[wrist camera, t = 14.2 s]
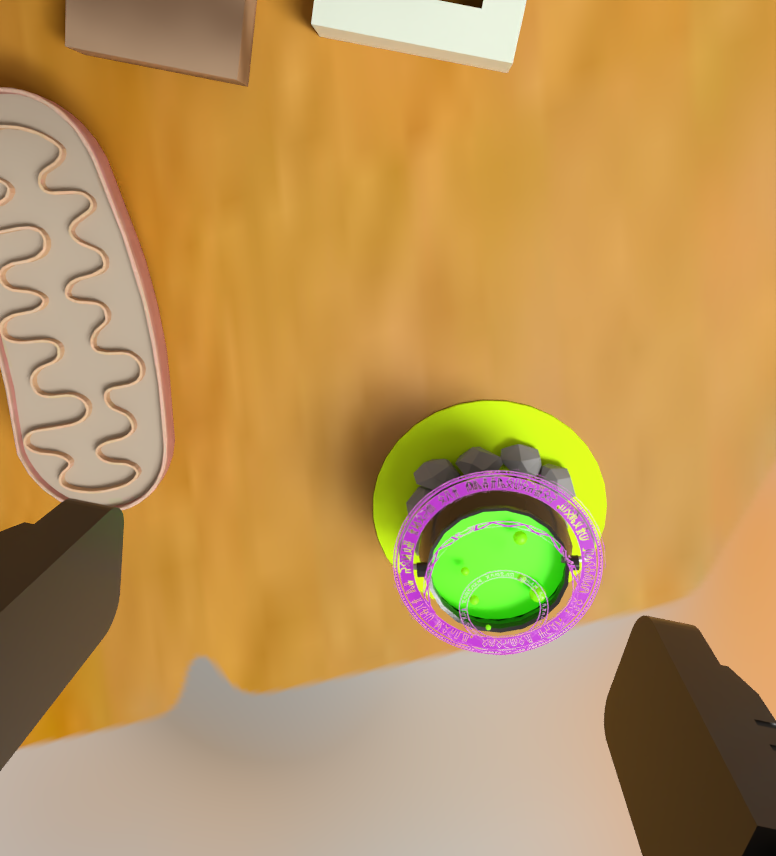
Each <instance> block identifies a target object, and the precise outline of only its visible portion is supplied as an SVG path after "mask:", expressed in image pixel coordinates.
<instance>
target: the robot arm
mask: <svg viewBox="0 0 776 856" xmlns="http://www.w3.org/2000/svg"><path fill="white" fill-rule="evenodd" d="M123 529H124V518H123V513H122V511H121V509H120V508H118V507H113V506H108V505H103V504H98V503H93V502H88V501H83V500H78V499H73V498H69V499H66V500H64V501H63V502H62V503H60V504H59V505H58V506H57V507H55V508H54V509H53V510H52V511H50V512H49V513H48V514H46V515H45V516H44V517H43V518H41V519H40V520H39V521H38V522H36V523H35V524H30V523H25V522H24V523H22V524H19V525H16V526H14V527H11V528H9V529H6V530H3V531H1V532H0V771H1V769H2V768H3V767H4V765H5V764H6V763H7V762H8V760H9V759H10V758H11V757H12V755H13V754H14V753H15V751H16V750H17V749H18V747H19V746H20V745H21V744H22V742H23V741H24V740H25V738H26V737H27V736H28V735H29V733H30V732H31V731H32V729H33V728H34V727H35V726H36V724H37V723H38V722H39V720H40V719H41V718H42V716H43V715H44V714H45V713H46V711H47V710H48V709H49V707H50V706H51V705H52V704H53V702H54V701H55V700H56V698H57V697H58V696H59V695H60V693H61V692H62V691H63V689H64V688H65V687H66V685H67V684H68V683H69V682H70V680H71V679H72V678H73V676H74V675H75V674H76V673H77V671H78V670H79V669H80V667H81V666H82V665H83V663H84V662H85V661H86V660H87V658H88V657H89V656H90V654H91V653H92V652H93V651H94V649H95V648H96V647H97V645H98V644H99V643H100V642H101V640H102V639H103V638H104V636H105V635H106V633H107V632H108V630H109V628H110V626H111V624H112V621H113V619H114V616H115V613H116V610H117V607H118V602H119V596H120V582H121V564H122V547H123ZM604 728H605V736H606V740H607V744H608V747H609V750H610V753H611V757H612V760H613V763H614V766H615V769H616V772H617V776H618V779H619V782H620V785H621V788H622V792H623V795H624V798H625V801H626V804H627V808H628V811H629V814H630V817H631V820H632V823H633V826H634V830H635V833H636V836H637V839H638V842H639V846H640V849H641V852H642V855H643V856H776V720H775V719H774V717H773V716H772V714H771V713H770V711H769V710H768V708H767V707H766V705H765V704H764V702H763V701H762V699H761V698H760V696H759V694H757V693H756V692H755V691H754V690H753V689H752V688H751V687H750V686H749V685H748V684H747V683H746V682H744V681H743V680H742V679H741V678H740V677H739V676H738V675H737V674H736V673H735V672H734V671H732V670H731V669H730V668H729V667H727V666H723V665H720V663H719V662H718V660H717V658H716V657H715V655H714V654H713V652H712V650H711V648H710V647H709V645H708V644H707V642H706V640H705V639H704V637H703V635H702V634H701V632H700V631H699V629H697V628H696V627H695V626H693V625H689V624H684V623H680V622H675V621H670V620H665V619H660V618H655V617H650V616H642V617H640V618H639V619H638V620H637V621H636V623H635V624H634V627H633V629H632V631H631V634H630V637H629V639H628V642H627V645H626V647H625V650H624V653H623V656H622V658H621V661H620V664H619V666H618V669H617V672H616V674H615V677H614V680H613V683H612V685H611V688H610V691H609V693H608V696H607V700H606V706H605V713H604Z"/></svg>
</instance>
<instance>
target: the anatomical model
mask: <svg viewBox="0 0 776 856" xmlns="http://www.w3.org/2000/svg"><path fill="white" fill-rule="evenodd" d="M0 368H1V372H2V376H3V381H4V385H5V389H6V394H7V400H8V406H9V412H10V417H11V423H12V429H13V435H14V440H15V446H16V450H17V455H18V456H19V458H20V460H21V462H22V464H23V465H24V467H25V469H26V471H27V472H28V474H29V475H30V476H31V477H32V478H33V480H34V481H35V482H36V483H37V484H38V485H39V486H40V487H41V488H42V489H43V490H44V491H45V492H47V493H48V494H50V495H51V496H53V497H54V498H56V499H57V500H59V501H60V502H63V501H64V500H66V499H69V498H73V499H78V500H83V501H88V502H93V503H98V504H103V505H108V506H113V507H118V508H120V509H121V510H125V509H128V508H131V507H133V506H135V505H137V504H139V503H140V502H141V501H143V500H144V499H145V498H147V497H148V496H149V495H150V494H151V493H152V492H153V491H154V490H155V489H156V487H157V486H158V485H159V483H160V482H161V480H162V479H163V478H164V476H165V474H166V472H167V470H168V468H169V466H170V462H171V459H172V456H173V450H174V442H175V436H174V425H173V413H172V400H171V388H170V376H169V366H168V357H167V348H166V343H165V338H164V333H163V328H162V323H161V318H160V313H159V308H158V304H157V300H156V296H155V293H154V289H153V285H152V281H151V278H150V274H149V270H148V267H147V263H146V259H145V257H144V254H143V251H142V249H141V246H140V243H139V240H138V238H137V235H136V232H135V230H134V227H133V224H132V222H131V219H130V217H129V214H128V211H127V209H126V206H125V204H124V201H123V198H122V196H121V193H120V190H119V188H118V185H117V183H116V180H115V177H114V175H113V172H112V169H111V167H110V164H109V162H108V159H107V157H106V155H105V154H104V152H103V150H102V149H101V147H100V145H99V144H98V142H97V140H96V139H95V138H94V137H93V135H92V134H91V133H90V132H89V131H88V129H87V128H86V127H85V126H84V125H83V124H82V123H81V122H80V121H79V120H78V119H77V118H76V117H75V116H73V115H72V114H71V113H70V112H68V111H67V110H65V109H64V108H62V107H61V106H59V105H58V104H56V103H55V102H53V101H50V100H48V99H46V98H44V97H41V96H39V95H37V94H34V93H31V92H28V91H25V90H20V89H15V88H5V87H0Z"/></svg>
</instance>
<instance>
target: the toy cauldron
mask: <svg viewBox="0 0 776 856" xmlns="http://www.w3.org/2000/svg"><path fill="white" fill-rule="evenodd" d="M606 508H607V503H606V493H605V484H604V481H603V478H602V475H601V472H600V469H599V466H598V463H597V462H596V460H595V458H594V457H593V455H592V453H591V452H590V450H589V448H588V447H587V445H586V444H585V443H584V442H583V441H582V440H581V439H580V438H579V436H578V435H577V434H576V433H575V432H574V431H573V430H572V429H571V428H570V427H568V426H567V425H565V424H564V423H562V422H561V421H559V420H558V419H557V418H555V417H554V416H552V415H550V414H548V413H546V412H543V411H541V410H539V409H536V408H534V407H532V406H529V405H524V404H519V403H515V402H510V401H497V400H480V401H474V402H468V403H462V404H457V405H454V406H452V407H449V408H446V409H443V410H441V411H438V412H435V413H434V414H432V415H430V416H429V417H427V418H425V419H424V420H422V421H420V422H419V423H417V424H416V425H415V426H413V427H412V428H411V429H410V430H409V431H408V432H407V433H406V434H405V435H403V436H402V437H401V438H400V439H399V440H398V442H397V443H396V444H395V446H394V447H393V448H392V450H391V451H390V453H389V454H388V455H387V457H386V459H385V461H384V463H383V465H382V468H381V470H380V472H379V474H378V476H377V481H376V486H375V490H374V495H373V519H374V523H375V528H376V532H377V537H378V540H379V542H380V544H381V546H382V548H383V551H384V553H385V555H386V557H387V558H388V560H389V561H390V562H391V564H392V565H393V569H394V576H395V572H397V574H396V575H397V577H395V581H396V578H398V580H397V581H398V582H399V583H397V581H396V585H397V584H399V586H398V585H397V588H398V587H400V589H399V588H398V591H399V590H401V593H402V595H403V596H404V597H403V598H404V599H405V600H403V598H402V596H401V594H400V591H399V594H400V596H401V598H402V600H403V602H404V601H406V603H407V604H408V605H406V603H405V602H404V604H405V605H406V607H407V606H409V608H410V610H412V612H411V611H410V610H409V609H408V607H407V609H408V610H409V611H410V613H411V614H412V613H414V615H416V617H417V618H418V619H416V618H415V616H414V615H413V614H412V616H413V617H414V618H415V619H416V620H417V621H418V620H420V622H422V624H424V625H425V626H427V628H429V629H430V630H432V629H431V628H430V627H429V626H428V625H426V624H425V623H424V622H423V621H422V620H421V619H420V618H419V617H418V615H417V614H416V613H415V612H414V610H413V609H412V608H411V606H410V604H409V603H408V601H407V599H406V597H405V595H404V593H403V590H402V587H401V584H400V580H399V575H398V573H399V574H400V576H401V581H402V585H403V588H404V590H405V593H406V592H407V591H408V590H409V589H410V588H411V587H412V586H413V587H414V589H415V590H416V591H415V590H414V589H410V590H414V591H415V592H413V591H412V592H411V591H410V590H409V591H410V592H411V593H410V592H409V591H408V592H409V593H408V592H407V593H408V594H406V595H407V597H408V599H409V601H410V603H411V602H412V601H414V600H417V599H419V600H422V601H419V600H417V601H418V602H417V604H416V603H414V602H415V601H414V602H413V603H411V604H412V606H413V607H414V609H415V608H417V607H418V608H417V610H418V609H420V608H422V607H426V608H422V609H420V610H418V611H417V610H416V609H415V610H416V612H417V613H418V614H419V615H420V613H421V612H423V609H428V610H427V611H428V613H427V615H428V614H430V615H428V616H426V614H423V613H424V612H423V613H421V614H422V615H420V616H421V617H422V618H423V620H425V619H427V618H428V617H430V616H431V617H430V618H428V619H427V620H425V621H426V622H427V623H428V624H429V625H430V626H431V627H433V628H434V627H435V625H436V624H438V626H436V627H435V628H434V629H435V630H437V631H438V632H440V633H441V634H443V635H445V636H446V637H448V638H450V639H452V640H453V641H455V642H456V643H455V642H453V641H451V640H449V639H447V638H445V637H443V636H441V635H440V634H438V633H437V632H435V631H434V630H432V632H435V633H434V634H433V633H432V632H430V631H429V630H428V629H427V628H425V627H424V626H423V625H422V624H421V623H420V622H419V621H418V622H419V623H420V624H421V625H422V626H423V627H424V628H425V629H426V630H428V631H429V632H430V633H432V634H433V635H435V634H437V636H436V635H435V636H436V637H438V635H439V636H440V637H443V639H446V641H445V640H443V639H441V638H439V637H438V638H439V639H441V640H443V641H445V642H447V640H448V641H449V642H450V641H451V642H452V643H455V645H453V644H451V643H449V642H447V643H449V644H451V645H453V646H456V644H458V643H461V644H466V645H468V646H470V647H467V646H464V645H461V644H458V646H459V645H461V647H462V646H464V648H465V647H466V648H468V649H469V648H471V649H470V650H469V651H472V649H474V650H473V652H476V651H477V652H478V653H483V652H484V651H487V652H489V651H491V652H492V651H493V652H494V653H485V654H496V655H506V654H515V653H519V652H524V651H528V650H531V649H535V648H537V647H540V646H542V645H540V646H538V645H539V644H542V643H545V642H547V641H549V640H551V639H552V638H554V637H555V636H557V635H558V634H560V633H563V631H566V630H565V629H568V627H570V628H569V629H571V628H572V627H573V626H574V625H575V624H576V623H577V622H578V621H579V620H580V619H581V618H582V617H583V616H584V614H585V613H586V612H587V610H588V609H589V607H590V605H591V604H592V602H593V600H594V598H595V596H596V594H595V596H594V598H593V600H592V602H591V601H590V600H591V599H592V596H593V593H595V592H594V591H595V590H596V589H595V588H596V587H597V586H596V585H597V584H598V583H597V582H598V581H599V580H598V578H600V581H599V585H600V582H601V577H602V570H603V556H602V548H601V544H600V537H601V534H602V531H603V529H604V524H605V516H606ZM601 538H602V537H601ZM602 541H603V540H602ZM598 544H600V546H598ZM603 546H604V543H603ZM599 547H600V548H601V549H599ZM596 548H597V551H598V574H597V579H596V583H595V587H594V590H593V592H592V595H591V597H590V599H589V601H588V602H587V604H586V606H585V607H584V609H583V610H582V611H581V613H580V614H579V615H578V616H577V618H578V617H580V615H582V612H584V610H586V609H585V608H586V607H588V606H587V605H588V604H589V602H591V604H590V605H589V607H588V609H587V610H586V611H585V613H584V614H583V615H582V616H581V618H580V619H579V620H578V619H577V618H576V619H575V620H578V621H577V622H576V623H575V624H574V625H573V626H572V627H571V626H570V625H571V624H573V622H575V620H574V621H573V622H572V623H570V624H569V625H568V626H567V627H566V628H565V629H563V628H564V626H566V625H567V624H568V623H569V622H570V621H571V620H572V619H573V618H574V617H575V616H576V615H577V614H578V612H579V611H580V610H581V608H582V607H583V605H584V604H585V602H586V600H587V599H588V597H589V594H590V592H591V589H592V586H593V583H594V579H595V574H596V552H595V549H596ZM599 550H601V555H600V552H599ZM604 551H605V547H604ZM593 553H594V554H593ZM600 556H602V568H600V566H601V565H600V563H601V562H600V559H601V558H600ZM591 557H593V558H594V559H593V558H592V559H590V558H591ZM588 561H592V562H594V563H595V566H591V565H594V563H591V564H589V563H590V562H588ZM587 564H589V565H588V566H586V565H587ZM584 566H586V567H584ZM605 566H606V562H605ZM588 567H590V569H595V571H594V570H590V572H589V573H587V572H584V571H588V570H585V568H588ZM395 569H396V570H397V571H395ZM588 569H589V568H588ZM600 569H601V571H600ZM580 571H581V577H580V576H579V577H580V581H579V579H578V580H577V579H576V577H575V576H576V575H577V577H578V573H579V572H580ZM591 571H594V572H591ZM599 572H601V576H600V577H599V575H600V574H599ZM584 573H586V574H584ZM588 574H591V575H593V576H594V579H593V580H585V579H590V578H593V577H590V576H591V575H589V576H585V575H588ZM584 576H585V577H588V578H585V577H584ZM573 578H574V579H575V580H576V582H577V586H576V588H575V591H574V586H573V593H572V599H571V598H570V599H571V601H570V600H569V601H570V603H569V604H568V605H567V604H566V605H567V606H566V608H565V609H564V610H563V611H562V612H561V613H560V614H559V615H558V616H557V617H556V618H555V619H553V618H554V617H553V618H552V619H553V620H552V621H550V620H551V619H550V620H549V621H550V622H549V623H547V622H548V621H547V622H546V623H547V624H546V625H544V624H545V621H546V619H547V616H548V613H549V612H551V611H552V610H553V609H554V608H555V607H556V606H557V605H558V604H559V602H560V600H561V598H562V596H563V594H564V592H565V590H566V588H567V586H568V583H569V582H570V581H571V580H572V583H573ZM582 580H584V581H591V582H586V583H587V584H589V585H590V586H583V587H586V588H585V589H587V588H588V589H589V592H588V591H586V590H585V589H583V588H581V586H582V585H587V584H582V585H581V583H585V582H584V581H582ZM408 582H409V584H410V585H411V586H409V585H407V584H408ZM404 583H406V584H405V585H406V586H404ZM602 584H603V583H602ZM599 585H598V588H599ZM394 587H395V586H394ZM413 587H412V588H413ZM598 588H597V591H598ZM588 589H587V590H588ZM395 590H396V589H395ZM419 591H421V592H422V593H424V599H425V601H426V602H425V601H424V599H423V598H422V596H421V594H420V592H419ZM579 591H584V592H585V591H586V592H588V593H582V592H579ZM597 591H596V593H597ZM425 594H426V595H427V596H428V600H429V602H428V601H427V600H426V598H425ZM420 598H421V599H420ZM430 598H433V599H435V600H436V601H437V603H438V604H439V606H440V608H441V609H442V610H444V611H445V612H446V613H447V614H448V615H450V616H451V617H452V618H453V619H454V620H456V621H457V622H459V623H461V624H463V625H464V626H465V625H466V626H468V627H469V628H470V627H471V628H470V629H471V630H472V628H474V629H476V630H477V631H478V630H481V631H490V632H500V633H501V632H506V631H512V630H518V629H523V628H525V627H527V626H529V625H531V624H533V623H535V622H536V623H537V621H539V620H540V621H541V619H544V617H545V616H546V615H547V616H546V619H545V621H544V624H543V625H544V626H543V625H541V624H540V625H541V626H542V627H541V628H539V629H537V630H533V629H532V628H533V627H534V626H535V624H536V623H535V624H534V626H533V627H532V628H531V629H532V630H533V631H532V632H529V633H527V632H528V631H527V632H526V633H525V632H523V633H524V634H522V633H520V634H522V635H519V636H514V637H506V638H492V637H490V638H489V636H487V637H482V636H480V635H479V636H477V635H476V634H475V635H473V634H472V633H471V634H469V633H470V632H469V630H468V629H467V628H466V626H465V628H466V629H467V630H468V632H469V633H466V632H463V631H461V630H458V629H456V628H454V627H453V626H451V625H449V624H448V623H446V622H445V621H443V620H442V619H441V618H439V617H438V616H437V615H436V614H435V611H434V610H433V608H432V607H431V603H430ZM575 598H576V600H577V601H576V600H575ZM578 600H582V602H581V601H578ZM569 601H568V602H569ZM574 601H576V602H574ZM422 603H423V605H422V606H421V604H422ZM426 603H427V604H428V605H429V606H428V605H427V604H426ZM577 603H578V604H581V605H577ZM582 603H583V604H582ZM401 604H402V603H401ZM419 606H420V607H419ZM574 606H575V607H574ZM570 607H572V608H570ZM576 607H578V608H580V609H579V611H577V610H578V608H576ZM566 609H567V610H568V611H570V612H569V613H567V612H568V611H567V612H565V611H566ZM575 609H577V610H575ZM427 611H425V612H427ZM431 613H432V614H431ZM570 614H571V615H570ZM573 614H575V616H572V615H573ZM433 615H434V616H433ZM569 615H570V616H569ZM425 616H426V617H425ZM410 617H411V616H410ZM424 617H425V618H424ZM432 617H433V618H432ZM411 618H412V617H411ZM431 618H432V619H431ZM559 618H560V619H561V620H562V621H561V622H560V620H559ZM430 619H431V620H430ZM429 620H430V621H429ZM428 621H429V622H428ZM555 621H556V622H559V623H560V624H559V623H558V624H559V625H560V626H559V625H558V624H557V623H555ZM541 622H542V621H541ZM563 622H564V625H563ZM552 623H553V625H552ZM439 624H441V628H440V625H439ZM443 624H444V625H443ZM446 625H447V627H450V628H448V629H447V628H446ZM547 625H548V627H549V628H550V630H548V629H549V628H548V627H547ZM551 625H552V626H553V627H554V628H555V629H557V628H558V630H555V629H553V628H552V626H551ZM554 625H555V626H556V627H557V628H556V627H555V626H554ZM562 625H563V626H562ZM538 627H540V626H538ZM538 627H537V628H538ZM544 627H545V628H546V629H547V630H548V631H546V629H545V628H544ZM438 628H440V629H439V630H438ZM444 629H445V630H444ZM452 629H453V631H452ZM531 629H530V630H529V631H531ZM534 629H536V628H534ZM562 629H563V630H562ZM569 629H568V630H569ZM443 630H444V632H445V631H446V632H445V633H443ZM455 630H456V632H455ZM540 630H541V631H542V633H543V632H545V631H546V632H547V633H549V634H547V633H546V632H545V634H546V635H547V636H546V635H545V634H544V633H543V635H544V636H545V637H544V636H543V635H542V634H541V631H540ZM561 630H562V631H561ZM568 630H567V631H568ZM424 631H425V630H424ZM451 631H452V633H451ZM472 631H473V630H472ZM474 631H475V630H474ZM474 631H473V632H474ZM567 631H566V632H567ZM454 632H455V633H454ZM457 632H458V633H457ZM460 632H463V633H460ZM478 632H480V631H478ZM566 632H564V633H566ZM453 633H454V634H453ZM456 633H457V635H456ZM459 633H460V635H459ZM464 633H465V634H464ZM480 633H481V632H480ZM539 633H540V634H541V636H542V637H544V638H542V639H541V636H540V635H539ZM550 633H551V634H550ZM555 633H556V634H555ZM564 633H563V634H564ZM448 634H449V636H450V637H449V636H448ZM466 634H468V635H469V637H468V635H467V637H466ZM481 634H483V633H481ZM528 634H530V635H528ZM553 634H555V635H554V636H552V637H551V638H549V639H547V637H549V636H551V635H553ZM563 634H561V635H563ZM455 635H456V636H455ZM458 635H459V637H458ZM463 635H464V639H465V637H466V639H467V638H468V639H467V641H466V639H465V641H466V642H465V641H464V640H463ZM471 635H473V638H470V636H471ZM483 635H484V634H483ZM516 635H517V634H516ZM524 635H528V637H529V636H530V637H529V639H530V638H531V639H532V643H529V642H528V641H529V639H528V637H527V636H525V637H524ZM561 635H560V636H561ZM485 636H486V635H485ZM510 636H512V635H510ZM521 636H522V638H521ZM560 636H558V637H560ZM454 637H455V638H457V639H455V638H454ZM493 637H497V636H493ZM499 637H502V636H499ZM558 637H557V638H558ZM513 638H514V639H515V638H516V639H517V643H516V644H517V645H516V644H515V641H516V639H515V641H514V639H513ZM518 638H521V640H520V639H518ZM526 638H527V640H528V641H527V640H526ZM557 638H555V639H557ZM483 639H484V640H483ZM487 639H488V640H487ZM494 639H495V641H494ZM508 639H509V643H508ZM510 639H511V640H510ZM512 639H513V641H512ZM531 639H530V641H531ZM555 639H554V640H555ZM486 640H487V641H486ZM489 640H490V642H491V644H490V643H489ZM497 640H498V641H500V640H502V641H501V642H500V643H501V644H502V645H501V644H500V643H498V641H497ZM505 640H506V644H504V643H505ZM519 640H520V643H521V644H522V643H523V642H524V644H523V645H521V644H520V643H518V642H519ZM522 640H523V641H522ZM544 640H545V641H544ZM485 641H486V642H485ZM510 641H511V642H513V643H514V644H513V643H512V644H511V642H510ZM538 641H543V642H538ZM551 641H553V640H551ZM551 641H549V642H551ZM483 642H485V643H483ZM494 642H495V644H494ZM536 642H538V644H537V643H536ZM549 642H547V643H549ZM482 643H483V645H484V646H485V645H486V643H487V646H485V647H484V646H483V645H482ZM492 643H493V644H492ZM497 643H498V644H497ZM533 643H535V644H533ZM547 643H545V644H547ZM489 644H490V646H489ZM496 644H497V645H496ZM530 644H531V645H532V644H533V645H532V646H531V645H530ZM491 645H492V646H493V645H494V646H493V647H492V646H491ZM512 645H516V646H512ZM526 645H527V646H526ZM529 645H530V646H529ZM536 645H537V647H535V648H532V647H533V646H536ZM543 645H544V644H543ZM458 646H456V647H458ZM472 646H473V647H472ZM498 646H499V647H500V646H501V647H500V648H499V647H498ZM504 646H505V647H504ZM523 646H524V647H523ZM461 647H459V648H461ZM474 647H479V648H483V649H488V650H481V649H475V648H474ZM506 647H509V648H506ZM517 647H520V648H517ZM529 647H531V648H530V649H529ZM464 648H462V649H464ZM511 648H516V649H515V650H506V651H508V652H509V651H511V652H509V653H507V652H506V651H499V650H495V649H511ZM468 649H465V650H468ZM520 649H521V650H522V649H525V650H524V651H519V650H520ZM527 649H528V650H527ZM517 650H518V651H519V652H515V651H517ZM495 652H497V653H495ZM498 652H501V654H500V653H498Z"/></svg>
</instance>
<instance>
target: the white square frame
mask: <svg viewBox="0 0 776 856" xmlns="http://www.w3.org/2000/svg"><path fill="white" fill-rule="evenodd" d="M526 1H527V0H483V4H482V9H481V8H476V7H471V6H465V5H460V4H455V3H450V2H445V1H440V0H314V5H313V13H312V21H311V25H312V26H313V27H314V29H315V30H316V32H317V33H318V35H319V36H320V37H325V38H330V39H335V40H340V41H345V42H351V43H356V44H361V45H366V46H371V47H376V48H381V49H387V50H392V51H397V52H402V53H407V54H412V55H417V56H422V57H428V58H433V59H438V60H443V61H448V62H453V63H458V64H463V65H469V66H474V67H479V68H484V69H489V70H494V71H499V72H504V73H508V71H509V69H510V68H511V66H512V64H513V60H514V55H515V51H516V46H517V42H518V37H519V32H520V28H521V23H522V19H523V14H524V10H525V5H526Z"/></svg>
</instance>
